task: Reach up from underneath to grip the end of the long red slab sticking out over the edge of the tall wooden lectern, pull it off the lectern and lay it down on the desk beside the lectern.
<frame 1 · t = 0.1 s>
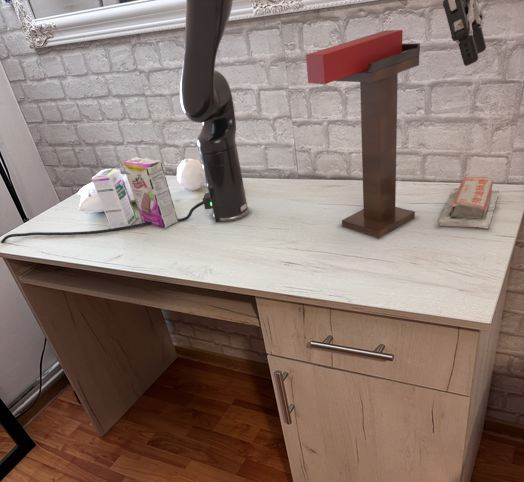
hand: (476, 57, 82), 31 cm above the table, tool tilted 20°, fingers open, 8 cm apart
syrup box: (124, 224, 133), on the table
pouch: (115, 206, 146), on the table
wooden lectern: (377, 222, 109), on the table
long red slab: (356, 70, 87), point 32 cm above the table, touching wooden lectern
decorative ball: (191, 191, 146), on the table
packaged product: (469, 211, 106), on the table
candy bar box: (160, 222, 130), on the table
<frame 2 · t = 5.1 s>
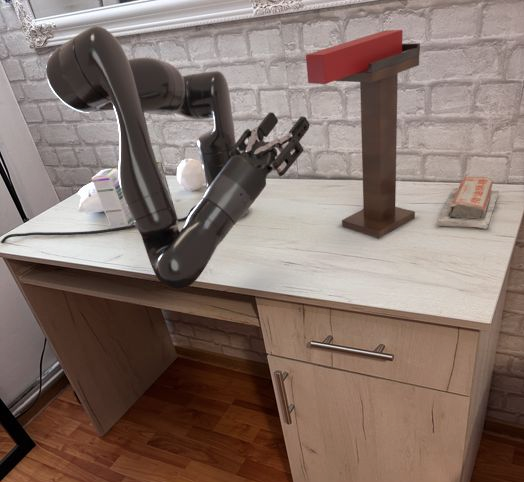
hand: (289, 118, 83), 28 cm above the table, tool pointing upward, fingers open, 8 cm apart
nothing on the table moved.
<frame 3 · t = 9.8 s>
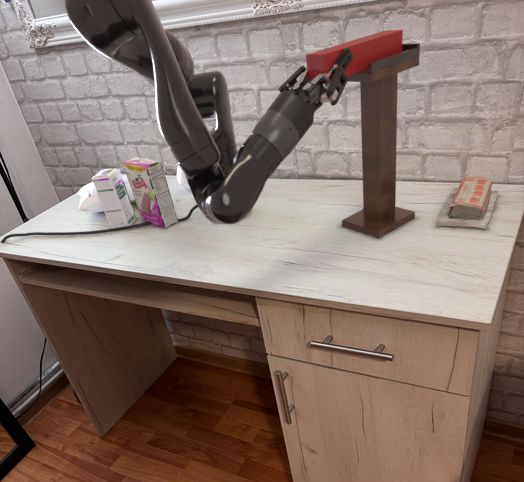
hand: (339, 52, 83), 36 cm above the table, tool pointing upward, fingers closed on long red slab, 4 cm apart
long red slab: (356, 69, 87), point 32 cm above the table, touching wooden lectern, gripper
everything else where it was.
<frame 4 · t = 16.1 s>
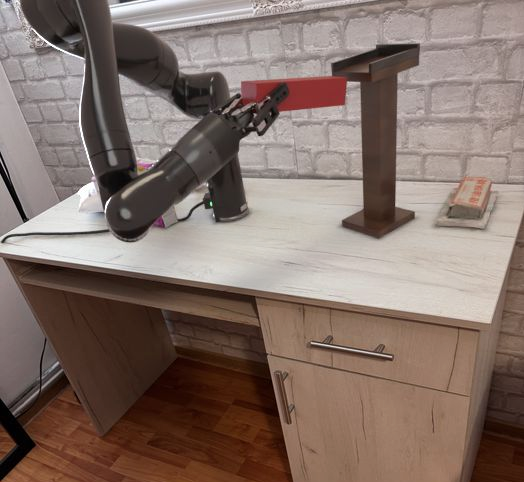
hand: (276, 86, 80), 33 cm above the table, tool pointing upward, fingers closed on long red slab, 4 cm apart
long red slab: (295, 108, 84), point 29 cm above the table, tilted 10°, touching gripper
everything else where it was.
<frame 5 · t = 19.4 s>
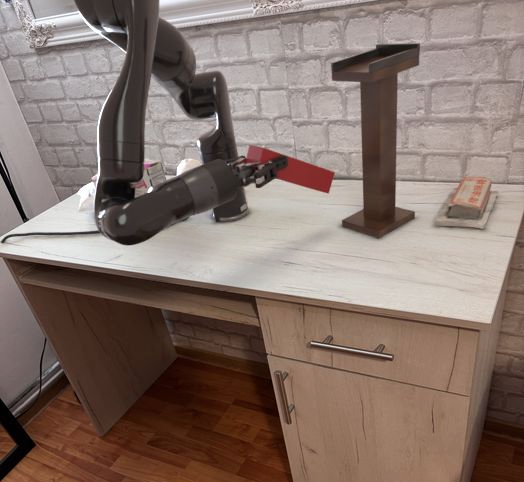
hand: (277, 158, 92), 20 cm above the table, tool horizontal, fingers closed on long red slab, 4 cm apart
long red slab: (288, 182, 96), point 15 cm above the table, tilted 30°, touching gripper
everything else where it was.
when the fingers open (10 cm above the table, at t = 22.5 s): long red slab drops 5 cm, on the table.
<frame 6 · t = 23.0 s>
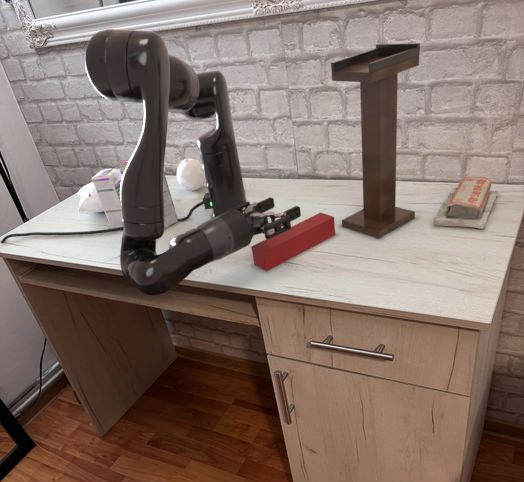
hand: (285, 206, 98), 10 cm above the table, tool horizontal, fingers open, 8 cm apart
long red slab: (295, 249, 105), on the table
everything else where it was.
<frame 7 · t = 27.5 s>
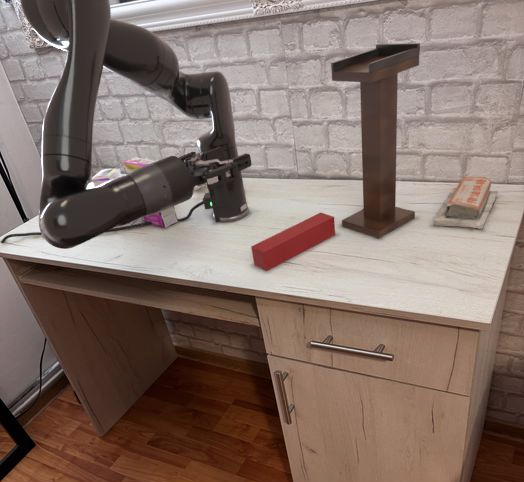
hand: (235, 155, 86), 24 cm above the table, tool horizontal, fingers open, 8 cm apart
nothing on the table moved.
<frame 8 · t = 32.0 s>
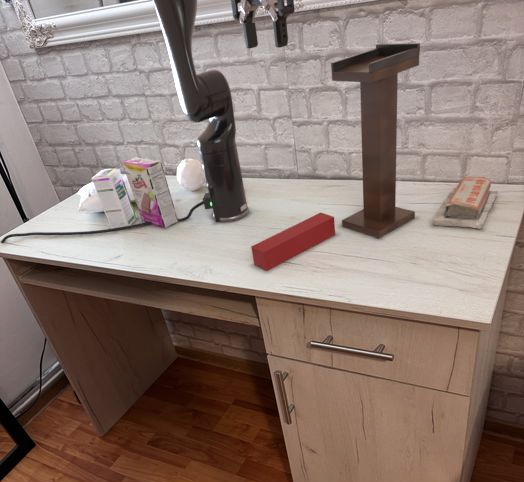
hand: (266, 47, 85), 38 cm above the table, tool pointing down, fingers open, 8 cm apart
nothing on the table moved.
at the end: long red slab inside the target area (2.3 cm from its centre), on the table; long red slab touching table; the gripper is holding nothing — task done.
